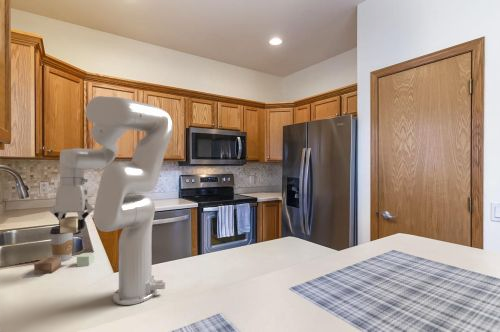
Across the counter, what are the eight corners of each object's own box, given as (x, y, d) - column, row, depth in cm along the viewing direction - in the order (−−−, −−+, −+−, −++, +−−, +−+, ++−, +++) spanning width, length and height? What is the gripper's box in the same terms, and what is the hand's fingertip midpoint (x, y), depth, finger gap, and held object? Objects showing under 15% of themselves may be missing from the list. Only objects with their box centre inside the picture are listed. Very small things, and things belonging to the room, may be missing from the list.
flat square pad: (71, 266, 106) (71, 264, 106) (54, 278, 95) (54, 275, 95) (41, 267, 105) (41, 266, 105) (21, 279, 94) (21, 277, 94)
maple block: (83, 228, 101) (83, 216, 101) (76, 232, 95) (76, 219, 95) (68, 229, 100) (68, 216, 100) (60, 233, 95) (60, 219, 95)
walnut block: (61, 267, 103) (61, 257, 103) (51, 273, 97) (51, 263, 97) (44, 268, 102) (44, 258, 102) (34, 274, 97) (34, 263, 97)
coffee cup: (61, 265, 107) (61, 229, 107) (45, 264, 109) (44, 228, 109) (78, 258, 115) (78, 224, 115) (63, 257, 117) (62, 224, 117)
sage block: (94, 264, 108) (94, 252, 108) (88, 268, 104) (88, 256, 104) (82, 265, 108) (82, 253, 108) (76, 269, 103) (76, 257, 103)
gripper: (100, 181, 102) (100, 226, 103) (53, 181, 100) (53, 228, 100) (91, 182, 95) (91, 231, 95) (40, 183, 93) (40, 233, 93)
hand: (72, 229), depth 98 cm, fingers closed on maple block, 5 cm apart
